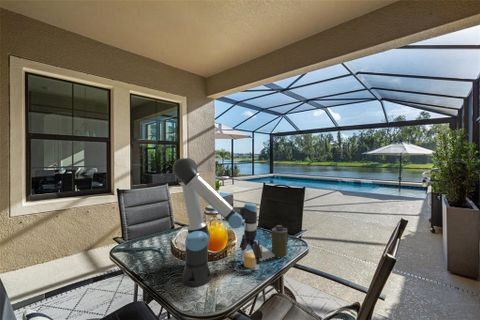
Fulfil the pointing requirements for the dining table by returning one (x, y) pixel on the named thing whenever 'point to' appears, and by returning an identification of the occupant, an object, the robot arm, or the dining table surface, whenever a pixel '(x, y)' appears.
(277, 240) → the canister
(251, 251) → the board
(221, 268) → the dining table surface
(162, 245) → the dining table surface
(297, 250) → the dining table surface
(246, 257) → the tan wooden cylinder
